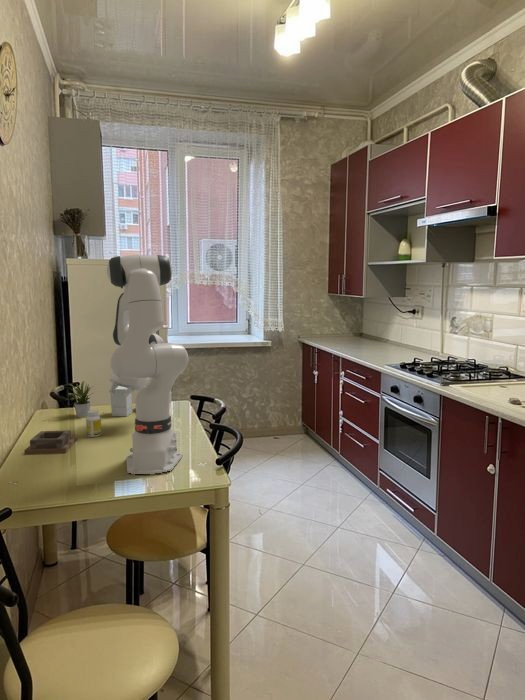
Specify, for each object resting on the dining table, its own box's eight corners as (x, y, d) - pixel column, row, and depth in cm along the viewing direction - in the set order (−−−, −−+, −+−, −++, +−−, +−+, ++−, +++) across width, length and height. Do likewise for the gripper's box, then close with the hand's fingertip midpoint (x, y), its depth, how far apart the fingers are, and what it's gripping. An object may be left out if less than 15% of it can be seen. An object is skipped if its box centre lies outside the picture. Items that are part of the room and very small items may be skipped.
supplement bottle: (103, 433, 198) (101, 409, 197) (99, 437, 193) (97, 412, 192) (89, 433, 198) (88, 409, 197) (85, 437, 193) (83, 412, 192)
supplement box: (133, 412, 230) (131, 385, 228) (127, 416, 223) (125, 389, 221) (117, 412, 231) (116, 385, 229) (111, 416, 223) (109, 388, 222)
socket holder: (65, 452, 175) (65, 440, 175) (24, 454, 174) (23, 441, 174) (76, 440, 189) (76, 428, 189) (38, 441, 188) (38, 430, 187)
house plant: (65, 413, 229) (63, 378, 227) (97, 410, 234) (95, 376, 232) (65, 421, 216) (62, 384, 214) (98, 417, 221) (96, 381, 219)
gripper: (118, 360, 213) (98, 386, 207) (146, 365, 199) (126, 393, 193) (127, 369, 217) (108, 395, 211) (155, 375, 203) (136, 402, 197)
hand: (117, 394), depth 202 cm, fingers open, 8 cm apart
